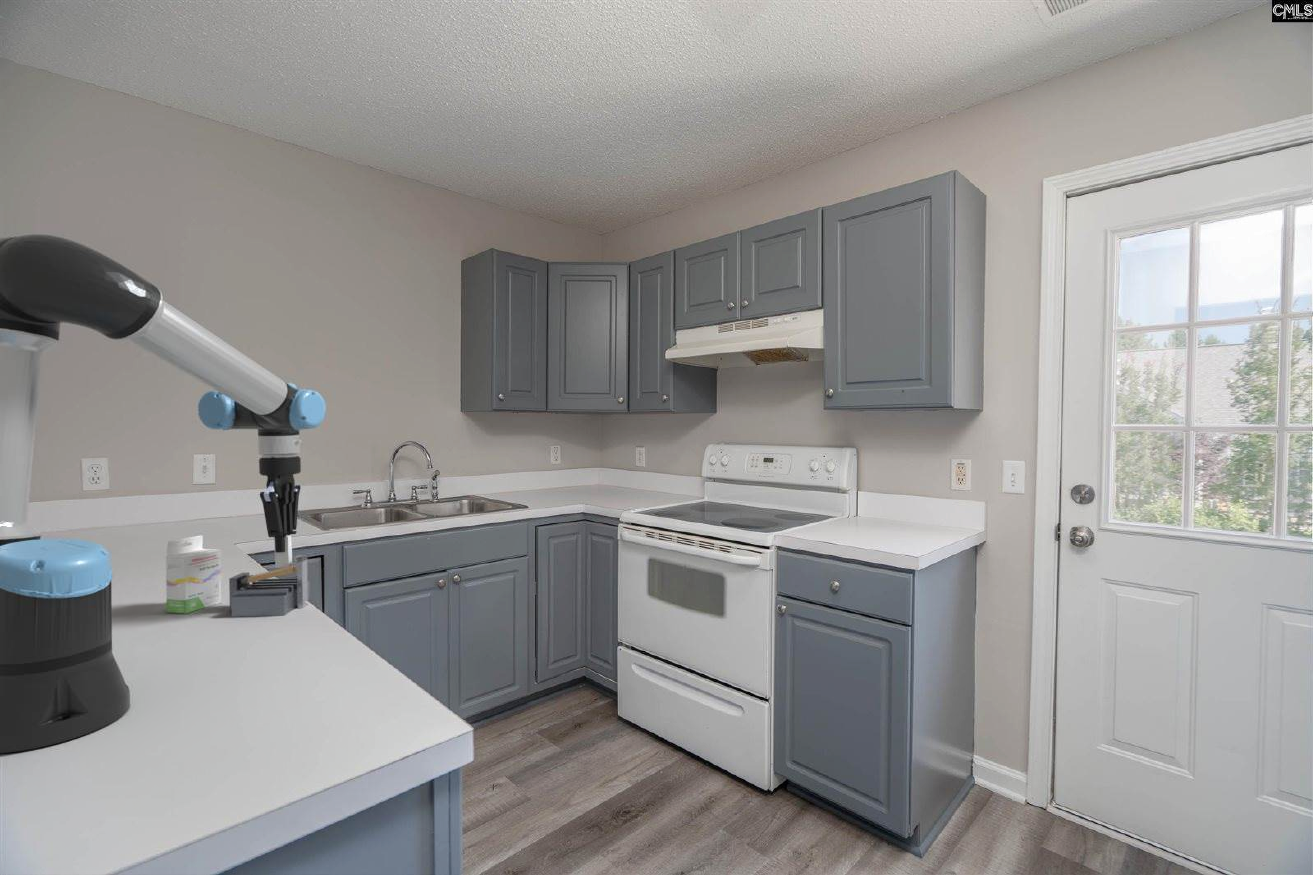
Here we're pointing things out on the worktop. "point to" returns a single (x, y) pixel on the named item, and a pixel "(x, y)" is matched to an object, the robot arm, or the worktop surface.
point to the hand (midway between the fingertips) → (283, 566)
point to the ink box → (192, 576)
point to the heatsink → (270, 593)
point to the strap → (268, 575)
